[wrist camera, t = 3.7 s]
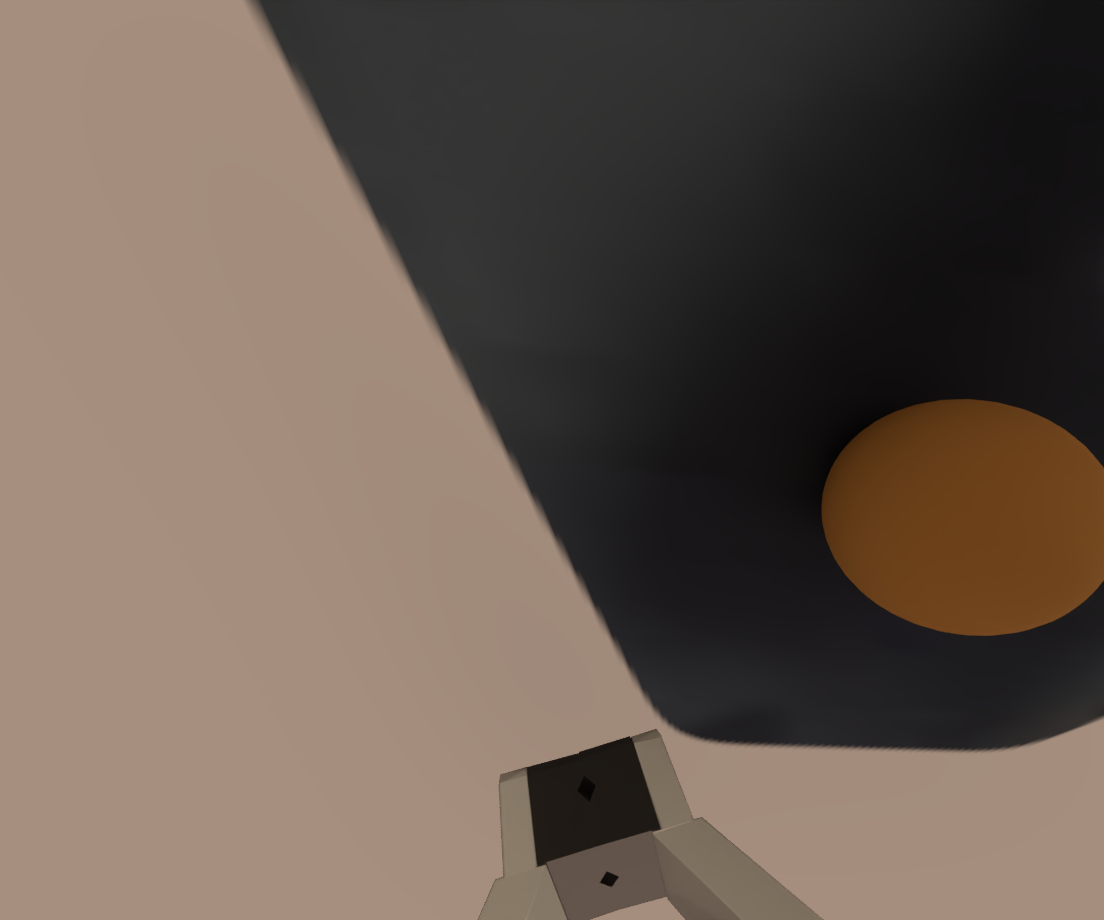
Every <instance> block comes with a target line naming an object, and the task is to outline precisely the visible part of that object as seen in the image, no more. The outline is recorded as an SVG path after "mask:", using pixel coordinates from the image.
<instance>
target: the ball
mask: <svg viewBox="0 0 1104 920" xmlns="http://www.w3.org/2000/svg"><path fill="white" fill-rule="evenodd" d="M822 523H823V528H824V532H825V537H826V540H827V542H828V545H829V548H830V550H831V552H832V554H833V557H834V558H835V560H836V561H837V563H838V565H839V566H840V568H841V569H842V571H843V572H844V574H845V575H846V576H847V577H848V578H849V579H850V580H851V581H852V582H853V584H854V585H855V586H856V587H857V588H858V589H859V590H860V591H861V592H862V593H863V594H865V595H866V596H867V597H868V598H870V599H871V600H872V601H874V602H875V603H876V604H878V605H879V606H881V607H882V608H884V609H886V610H887V611H889V612H891V613H892V614H894V615H896V616H898V617H901V618H903V619H905V620H907V621H910V622H912V623H914V624H917V625H920V626H924V627H927V628H930V629H934V630H937V631H941V632H947V633H954V634H961V635H976V636H993V635H1001V634H1009V633H1017V632H1021V631H1026V630H1029V629H1032V628H1035V627H1038V626H1041V625H1044V624H1047V623H1050V622H1052V621H1054V620H1056V619H1058V618H1060V617H1062V616H1064V615H1065V614H1067V613H1069V612H1070V611H1072V610H1073V609H1075V608H1076V607H1078V606H1079V605H1080V604H1081V603H1083V602H1084V601H1085V600H1086V599H1087V598H1088V597H1089V596H1091V595H1092V594H1093V592H1094V591H1095V590H1096V589H1097V588H1098V587H1099V586H1100V584H1101V583H1102V582H1103V581H1104V468H1103V466H1102V465H1101V464H1100V463H1099V461H1098V460H1097V459H1096V458H1095V457H1094V455H1093V454H1092V453H1091V452H1090V451H1089V450H1088V448H1087V447H1086V446H1085V445H1083V444H1082V443H1081V442H1080V441H1079V440H1077V439H1076V438H1075V437H1074V436H1072V435H1071V434H1070V433H1069V432H1067V431H1066V430H1065V429H1063V428H1061V427H1060V426H1058V425H1056V424H1055V423H1053V422H1051V421H1049V420H1047V419H1045V418H1043V417H1041V416H1039V415H1037V414H1034V413H1032V412H1029V411H1027V410H1024V409H1021V408H1017V407H1014V406H1010V405H1006V404H1002V403H998V402H992V401H983V400H973V399H951V400H938V401H933V402H927V403H922V404H917V405H913V406H910V407H907V408H904V409H901V410H898V411H896V412H893V413H891V414H889V415H887V416H884V417H883V418H881V419H879V420H877V421H876V422H874V423H873V424H871V425H870V426H868V427H867V428H865V429H864V430H863V431H861V432H860V433H859V434H858V435H857V436H855V437H854V438H853V439H852V440H851V441H850V442H849V443H848V444H847V445H846V447H845V448H844V449H843V450H842V452H841V453H840V454H839V456H838V457H837V459H836V460H835V462H834V464H833V466H832V468H831V470H830V472H829V475H828V477H827V480H826V483H825V486H824V490H823V496H822Z"/></svg>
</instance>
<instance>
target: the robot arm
mask: <svg viewBox="0 0 1104 920" xmlns="http://www.w3.org/2000/svg"><path fill="white" fill-rule="evenodd" d="M499 797H500V798H499V799H500V817H501V838H502V857H503V875H504V876H503V877H502V878H499V879H496V880H495V882H494V884H493V886H492V888H491V890H490V893H489V895H488V897H487V900H486V902H485V904H484V907H483V909H482V911H481V914H480V916H479V918H478V920H590V919H593V918H596V917H599V916H602V915H605V914H607V913H610V912H613V911H616V910H619V909H623V908H626V907H630V906H634V905H637V904H641V903H645V902H648V901H652V900H656V899H659V898H663V897H668V900H669V901H670V902H671V903H672V905H673V906H674V907H675V908H676V909H677V910H678V911H679V912H680V914H681V915H682V916H683V917H684V918H685V919H686V920H823V919H822V918H821V917H819V916H818V915H817V914H816V913H815V912H813V911H812V910H811V909H810V908H809V907H808V906H806V905H805V904H804V903H803V902H802V901H800V900H799V899H798V898H797V897H796V896H795V895H793V894H792V893H791V892H790V891H789V890H787V889H786V888H785V887H784V886H783V885H781V884H780V883H779V882H778V881H777V880H776V879H774V878H773V877H772V876H771V875H769V874H768V873H767V872H766V871H765V870H764V869H762V868H761V867H760V866H759V865H758V864H757V863H755V862H754V861H753V860H752V859H751V858H749V857H748V856H747V855H746V854H745V853H744V852H742V851H741V850H740V849H739V848H738V847H736V846H735V845H734V844H733V843H732V842H730V841H729V840H728V839H727V838H726V837H725V836H723V835H722V834H721V833H720V832H719V831H717V830H716V829H715V828H714V827H713V826H711V825H710V824H709V823H708V822H707V821H706V820H704V819H703V818H702V817H701V818H697V819H693V817H692V814H691V812H690V809H689V806H688V804H687V801H686V799H685V796H684V794H683V791H682V789H681V786H680V784H679V781H678V778H677V776H676V773H675V770H674V768H673V765H672V763H671V760H670V758H669V755H668V752H667V750H666V747H665V745H664V742H663V740H662V737H661V734H660V733H659V732H658V731H657V729H655V730H652V731H648V732H645V733H643V734H639V735H636V736H633V737H631V738H630V736H629V737H626V738H623V739H620V740H616V741H613V742H610V743H607V744H603V745H600V746H597V747H594V748H591V749H587V750H584V751H581V752H579V753H578V754H574V755H570V756H567V757H563V758H559V759H556V760H552V761H549V762H545V763H541V764H537V765H534V766H530V767H525V768H522V769H518V770H515V771H512V772H508V773H505V774H501V775H500V781H499Z"/></svg>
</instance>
